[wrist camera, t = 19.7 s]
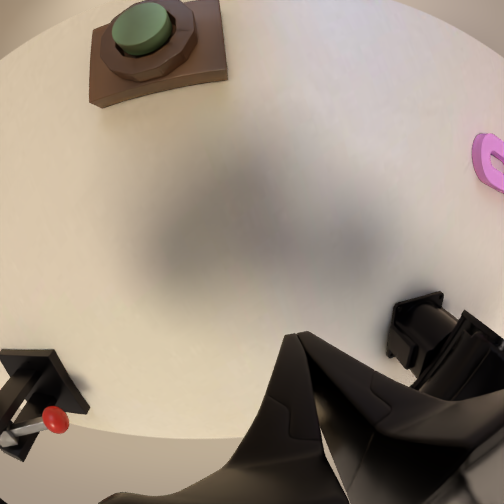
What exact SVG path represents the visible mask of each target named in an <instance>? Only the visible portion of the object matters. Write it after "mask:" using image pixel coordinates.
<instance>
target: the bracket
mask: <svg viewBox="0 0 504 504" xmlns="http://www.w3.org/2000/svg"><path fill="white" fill-rule="evenodd" d="M491 154H492V155H493V156H495V157H496V158H498V159H499V160H501V161H502V162H503V164H504V142H503V141H502V140H501V139H499V138H498V137H497V136H495V135H494V134H491V133H487V134H479V135H477V136H476V138H475V140H474V142H473V147H472V159H473V165H474V169H475V172H476V174H477V176H478V178H479V179H480V180H481V181H482V182H483V183H484V184H486V185H488V186H490V187H492V188H494V189H496V190H498V191H499V192H501V193H503V194H504V174H503V173H502V172H500V171H499V170H497V169H495V168H494V167H493V166H492V164H491V160H490V155H491Z"/></svg>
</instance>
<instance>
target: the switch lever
mask: <svg viewBox="0 0 504 504" xmlns="http://www.w3.org/2000/svg"><path fill="white" fill-rule="evenodd" d="M68 427H69V419H68V416H67V414H66V413H65V412H64V411H63V410H62V409H61V408H59V407H57V406H48V407H47V408H45V409H44V411H43V414H42V417H38V418H35V419H31V420H27V421H23V422H19V423H15V424H13V422H12V421H11V420H10V422H9V423H8V425H7V426H6V428H5V429H4V431H3V433H2V434H1V436H0V445H1V446H2V447H8V446H14V445H18V440H19V436H22V435H27V434H31V433H35V432H39V431H43V430H46V429H49V430H50V431H52V432H53V433H57V434H60V433H64V432H65V431H66V430H67V429H68Z"/></svg>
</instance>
